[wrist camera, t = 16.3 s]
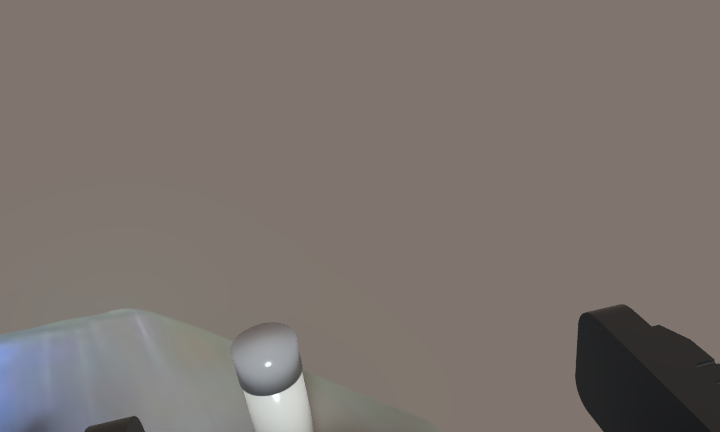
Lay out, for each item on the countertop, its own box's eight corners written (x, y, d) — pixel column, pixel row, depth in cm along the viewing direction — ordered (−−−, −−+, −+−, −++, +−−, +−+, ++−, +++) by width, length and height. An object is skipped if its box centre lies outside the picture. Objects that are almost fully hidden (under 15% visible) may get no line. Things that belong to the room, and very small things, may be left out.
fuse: (274, 523, 39) (230, 371, 33) (271, 475, 43) (231, 330, 37) (331, 508, 40) (298, 356, 34) (324, 462, 44) (292, 317, 38)
